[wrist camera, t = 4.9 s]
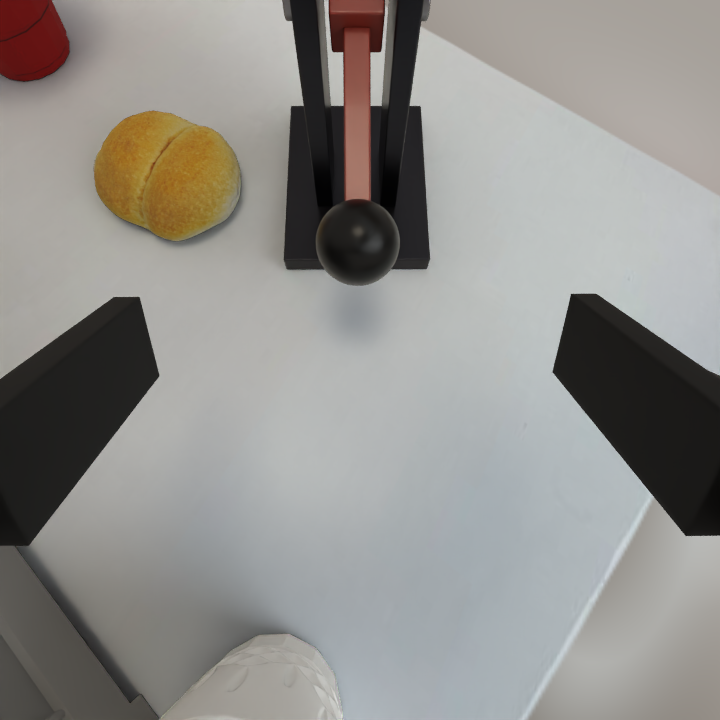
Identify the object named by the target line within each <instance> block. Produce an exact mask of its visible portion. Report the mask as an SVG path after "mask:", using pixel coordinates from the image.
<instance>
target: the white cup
mask: <svg viewBox="0 0 720 720" xmlns="http://www.w3.org/2000/svg"><path fill="white" fill-rule="evenodd" d="M159 720H343V710H342V705H341V700H340V695H339V691H338V686H337V681H336V676H335V674H334V672H333V671H332V670H331V668H330V667H329V665H328V664H327V663H326V661H325V660H324V658H323V657H322V656H321V654H320V653H319V651H318V650H317V649H316V648H315V647H314V646H312V645H310V644H308V643H306V642H304V641H302V640H300V639H298V638H296V637H294V636H292V635H290V634H267V635H257V636H256V637H254V638H252V639H250V640H249V641H247V642H245V643H243V644H242V645H240V646H238V647H236V648H235V649H233V650H231V651H230V652H229V653H228V654H227V655H226V656H225V657H224V658H223V659H222V660H221V661H220V662H219V663H218V664H216V665H215V666H214V667H213V668H211V669H210V670H209V671H208V672H207V673H205V674H204V675H203V676H202V677H201V678H200V679H199V680H198V681H197V682H196V683H195V684H194V685H193V686H192V687H191V688H189V689H188V690H187V691H186V692H185V693H184V694H183V695H182V696H181V697H180V698H179V699H178V700H177V701H176V702H175V703H174V704H173V705H172V706H171V707H170V708H169V709H168V710H167V711H166V712H165V714H164V715H163V716H162V717H161V718H160V719H159Z"/></svg>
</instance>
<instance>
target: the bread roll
mask: <svg viewBox="0 0 720 720" xmlns="http://www.w3.org/2000/svg"><path fill="white" fill-rule="evenodd" d="M94 179H95V186H96V190H97V193H98V195H99V197H100V199H101V200H102V202H103V203H104V204H105V205H106V206H107V207H108V208H109V209H110V210H111V211H112V212H113V213H114V214H115V215H117V216H118V217H120V218H121V219H123V220H126V221H128V222H131V223H133V224H136V225H139V226H142V227H144V228H146V229H148V230H150V231H151V232H153V233H154V234H156V235H158V236H159V237H162V238H165V239H168V240H172V241H181V240H186V239H189V238H191V237H193V236H196V235H198V234H200V233H202V232H204V231H206V230H208V229H210V228H211V227H214V226H216V225H218V224H220V223H221V222H223V221H225V220H226V219H227V218H228V217H229V216H230V215H231V213H232V212H233V210H234V208H235V206H236V204H237V202H238V199H239V196H240V187H241V176H240V168H239V165H238V161H237V158H236V156H235V154H234V152H233V150H232V148H231V147H230V146H229V144H228V143H227V142H226V141H225V140H224V138H223V137H222V136H221V135H220V134H219V133H218V132H216V131H214V130H213V129H211V128H208V127H204V126H198V125H196V124H193V123H191V122H189V121H187V120H185V119H183V118H181V117H178V116H176V115H173V114H171V113H163V112H158V111H147V112H143V113H140V114H136V115H133V116H130V117H128V118H126V119H124V120H123V121H121V122H120V123H119V124H118V125H117V126H116V127H115V128H114V129H113V130H112V131H111V132H110V134H109V135H108V137H107V138H106V140H105V141H104V143H103V145H102V148H101V150H100V151H99V152H98V154H97V156H96V160H95V163H94Z"/></svg>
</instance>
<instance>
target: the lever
mask: <svg viewBox="0 0 720 720" xmlns="http://www.w3.org/2000/svg"><path fill="white" fill-rule="evenodd" d="M384 16H385V0H329V22H330V34H331V46H332V51H333V52H343V62H344V201H343V202H341V203H339V204H337V205H335V206H334V207H332V208H331V209H330V210H329V211H328V212H327V213H326V214H325V216H324V217H323V219H322V220H321V222H320V224H319V227H318V230H317V234H316V250H317V255H318V258H319V260H320V262H321V264H322V266H323V267H324V269H325V270H326V271H327V272H328V273H329V274H330V275H331V276H332V277H333V278H335V279H336V280H338V281H340V282H342V283H344V284H347V285H353V286H363V285H368V284H371V283H374V282H376V281H378V280H379V279H381V278H382V277H384V276H385V275H386V274H387V273H388V272H389V271H390V270H391V268H392V267H393V265H394V264H395V261H396V259H397V256H398V253H399V248H400V236H399V231H398V228H397V225H396V223H395V221H394V219H393V218H392V216H391V215H390V214H389V213H388V211H387V210H385V209H384V208H383V207H382V206H380V205H379V204H377V203H375V202H373V201H371V117H370V52H381V49H382V38H383V27H384Z"/></svg>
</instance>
